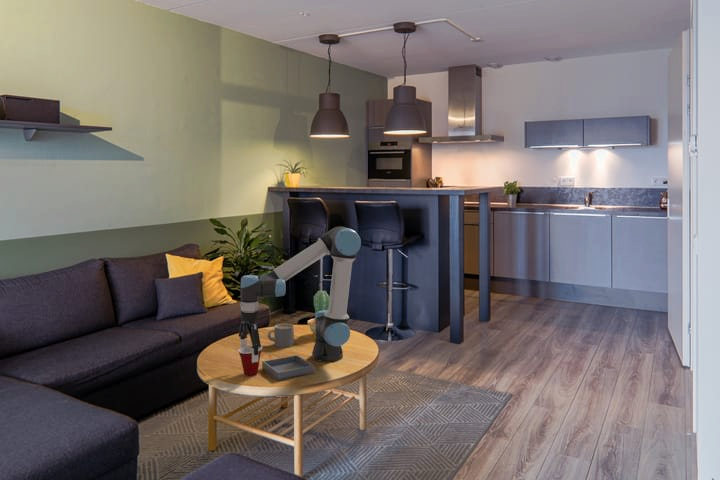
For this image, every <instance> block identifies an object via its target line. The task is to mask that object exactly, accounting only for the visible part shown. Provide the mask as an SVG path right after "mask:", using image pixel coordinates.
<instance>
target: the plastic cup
mask: <svg viewBox="0 0 720 480" xmlns="http://www.w3.org/2000/svg"><path fill="white" fill-rule="evenodd" d="M251 347H252V344H251V345H247V346H245V347H242V348H241V347H239V348H238V349H237V353H239V357H240V360H241V366H242V369H243V374H244V376H246V377H255V376H257V375H258V372H259V366H260V360H261V355H262V350H263V346H262V345H261V347H258V362H253V363H252V348H251Z"/></svg>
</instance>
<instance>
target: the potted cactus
mask: <svg viewBox="0 0 720 480" xmlns="http://www.w3.org/2000/svg"><path fill="white" fill-rule="evenodd" d="M329 298H330V295H329V294H328V292H327V291H326V290H318V291H317V292H316V293H315V295H314V296H313V307H314V318H310V319H309V320H307V325H308V326H309V329H310V331H311V332H312V334H313V337H315V338H316V319H315V317H316V312H318V311H322V310H328V307H329Z"/></svg>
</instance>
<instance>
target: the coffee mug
mask: <svg viewBox="0 0 720 480" xmlns="http://www.w3.org/2000/svg"><path fill="white" fill-rule="evenodd" d="M272 333H273V334H274V335H273V337H271V334H272ZM267 337H268V340H270V341H272V342H274V346H275V347H277V348H283V349H286V348H291V347H293V346H295V325H294V324H291V323H279V324H275V325H274V328H272V329H271V328H270V329H269V330H268V332H267Z"/></svg>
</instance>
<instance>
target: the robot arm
mask: <svg viewBox="0 0 720 480" xmlns="http://www.w3.org/2000/svg"><path fill="white" fill-rule="evenodd" d="M361 245H362V240H361V237H360V236H359V234H358V233H357V231H356V230H354V229H352V228H348V227H346V226H336V227H333V228H332V229H330V230H328V231H327V232H325V233H324V234H322V235H321V236H320V237H318V238H317V241H316V242H315V243H313V244H311V245H309V246H308V247H307V248H305V249H304V250H302V251H300V252H298V253H297V254H296V255H294V256H293V257H291V258H290V259H288V260H286V261H285V262H283V263H282V264H280V265H279V266H277V267H276V268H274V269H273V270H271V271H269V272H268V273H263V274H262V275H261V276H260V277H259V276H257V275H255V274H254V275H253V274H247V275H243V276H241V278H240V286H239V287H240V303H239V306H240V327H239V332H238V337H239V339H240V348H242V347H245V346H248V335H249V337H250V341H251V345H252V347H251V348H252V363H253V362H258V347H261V346H262V344H261V339H260V333H259V325H258V324H257V323H256V322H255V321H257V320H259V311H258V310H259V298H265V297H266V298H267V297H269V298H270V297H271V298H274V297H277V298H279V297H284V296H285V295H286V290H287V289H286V288H287V287H286V282H287V281H289V279H291V278H293V277H294V276H296V275H297V274H298V273H300V272H302V271H303V270H305V269H307V268H308V267H310V266H311V265H313V264H314V263H315V262H317V261H319V260H320V259H321V258H323V257H325V256H330V257H331V258H332V260H333V265H332V272H331V273H332V274H331V281H330V291H329V292H330V293H329V297H330V298H329V307H328V310H322V311H318V312H316V317H315V316H314V319H316V337H315V342H314V345H313V350H312V351H311V358H312V359H313V360H314V361H318V362H326V363H327V362H336V361H340V360H341V359H343V358H344V351H343V348H342V346H344V345H345V344H346V343H347V342H349V339H350V337H351V330H350V329H351V328H350V327H349V324H350V323H349V322H350V316H349V314H348V313H347V312H348V311H347V310H348V304H349V303H348V301H349V293H350V285H351V275H352V268H353V262H354V261H355V260H356V259H357V255H358V254H357V253H358V251H360V249H361ZM255 323H256V324H255ZM342 357H343V358H342ZM339 359H340V360H339Z"/></svg>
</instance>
